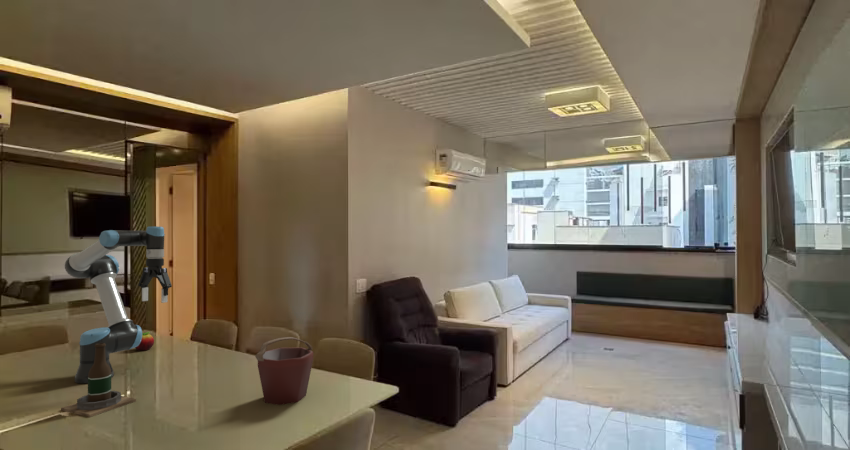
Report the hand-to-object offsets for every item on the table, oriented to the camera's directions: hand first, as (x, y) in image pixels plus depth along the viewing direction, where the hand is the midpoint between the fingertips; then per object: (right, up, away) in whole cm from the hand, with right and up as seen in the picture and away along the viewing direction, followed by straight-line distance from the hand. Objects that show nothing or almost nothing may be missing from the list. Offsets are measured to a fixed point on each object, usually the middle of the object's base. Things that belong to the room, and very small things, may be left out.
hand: (154, 301), depth 223 cm
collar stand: (0, -36, -38) cm, 52 cm away
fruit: (-39, -38, +54) cm, 77 cm away
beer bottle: (0, -35, -38) cm, 51 cm away
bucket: (+72, -36, -29) cm, 85 cm away
